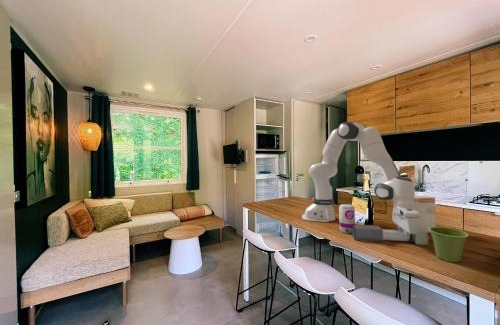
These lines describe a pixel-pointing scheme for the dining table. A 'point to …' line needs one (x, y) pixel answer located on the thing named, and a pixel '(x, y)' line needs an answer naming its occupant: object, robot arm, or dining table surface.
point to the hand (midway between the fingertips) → (404, 236)
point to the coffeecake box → (425, 211)
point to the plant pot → (448, 243)
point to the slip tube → (397, 235)
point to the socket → (421, 237)
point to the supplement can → (346, 218)
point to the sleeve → (367, 233)
